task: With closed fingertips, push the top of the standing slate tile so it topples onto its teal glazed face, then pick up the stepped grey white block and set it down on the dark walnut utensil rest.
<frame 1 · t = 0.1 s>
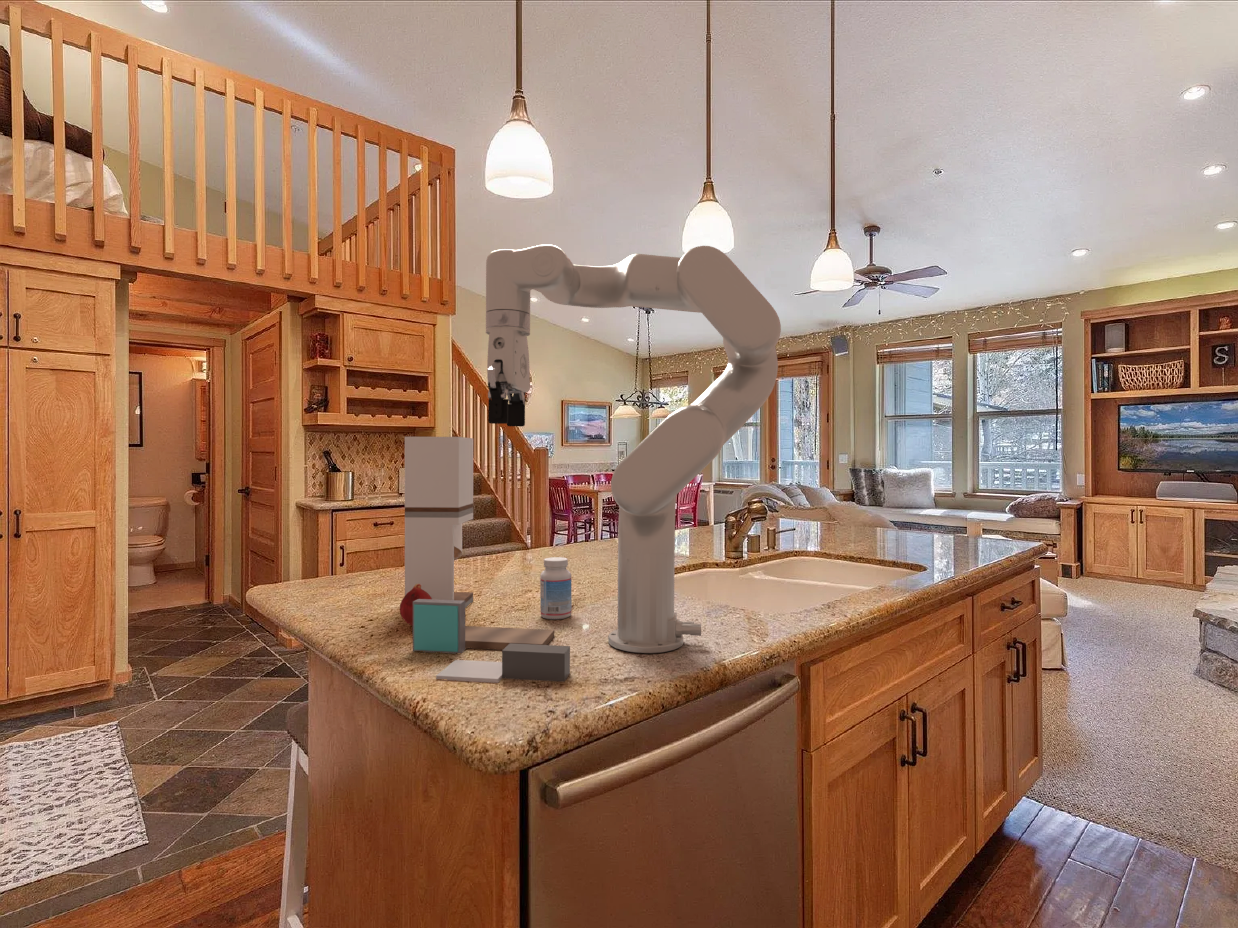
hand: (507, 424, 109), 37 cm above the counter, tool pointing down, fingers open, 9 cm apart
rest: (496, 641, 107), on the counter
tile: (439, 650, 102), on the counter
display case: (440, 608, 130), on the counter
pill bottle: (555, 617, 124), on the counter
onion: (416, 628, 115), on the counter
stepped grey white block: (536, 676, 90), on the counter
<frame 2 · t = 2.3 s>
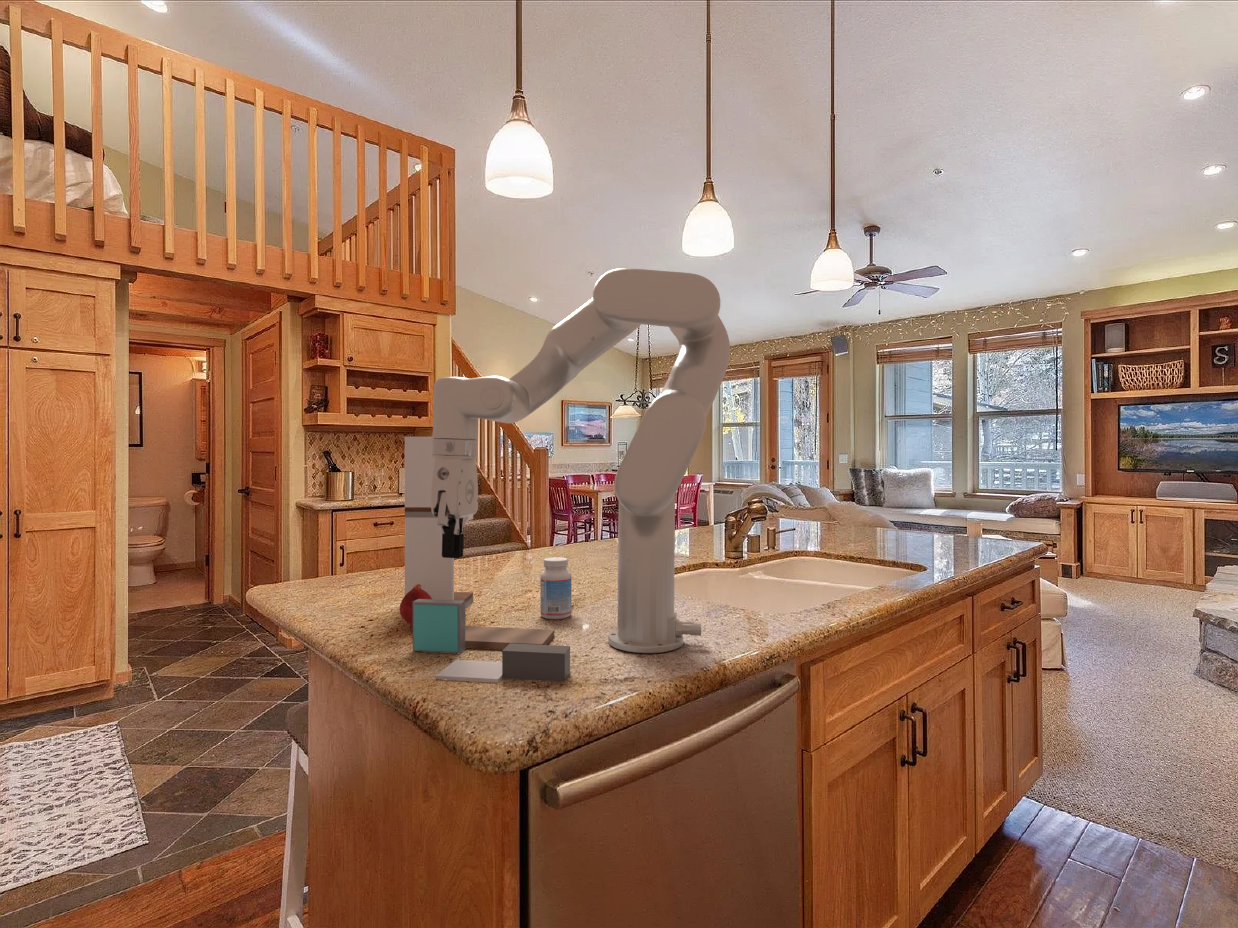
hand: (452, 556, 109), 14 cm above the counter, tool pointing down, fingers closed
nothing on the counter moved.
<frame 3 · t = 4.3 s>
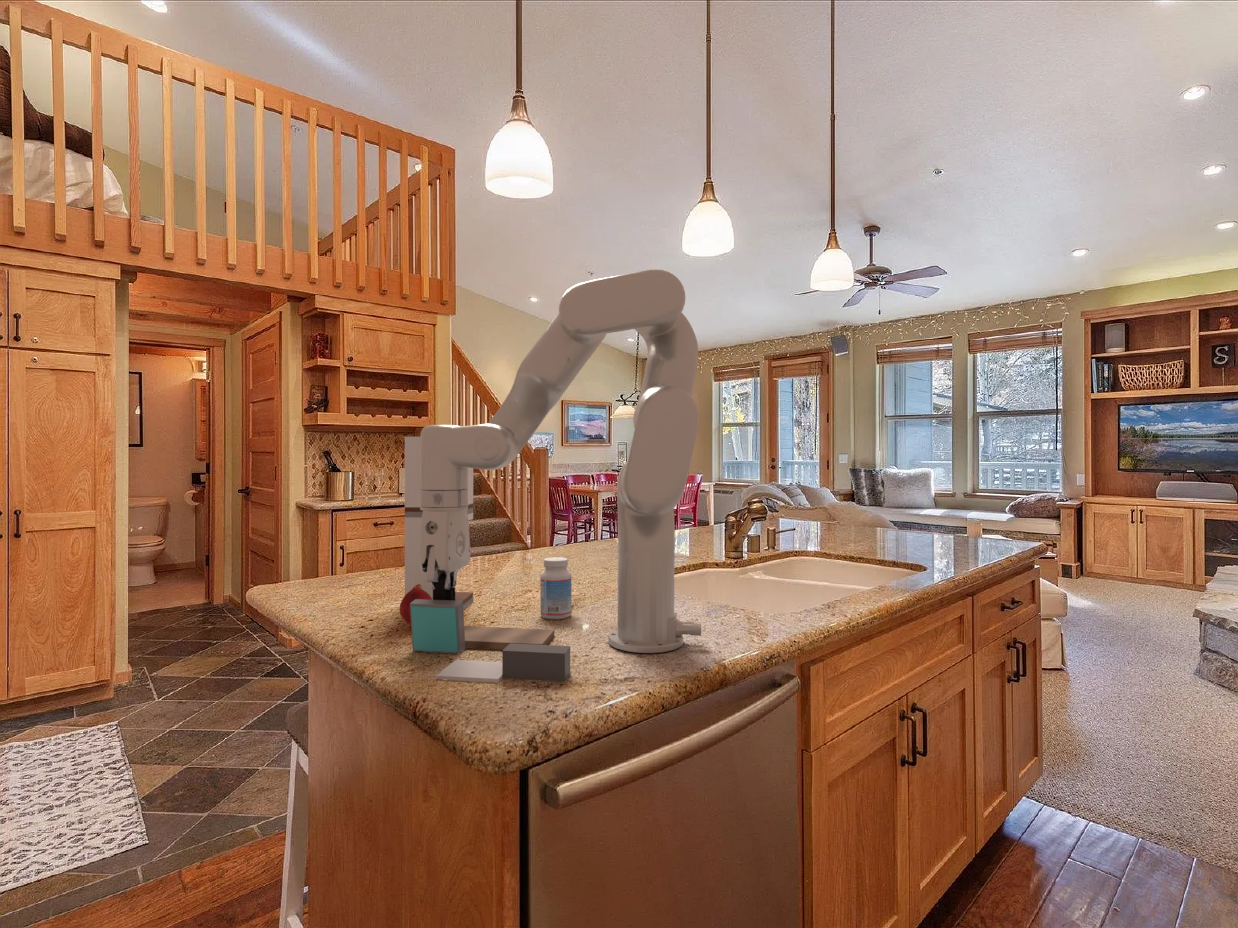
hand: (444, 612, 104), 6 cm above the counter, tool pointing down, fingers closed
tile: (439, 649, 102), on the counter, tilted 7°
everything else where it was.
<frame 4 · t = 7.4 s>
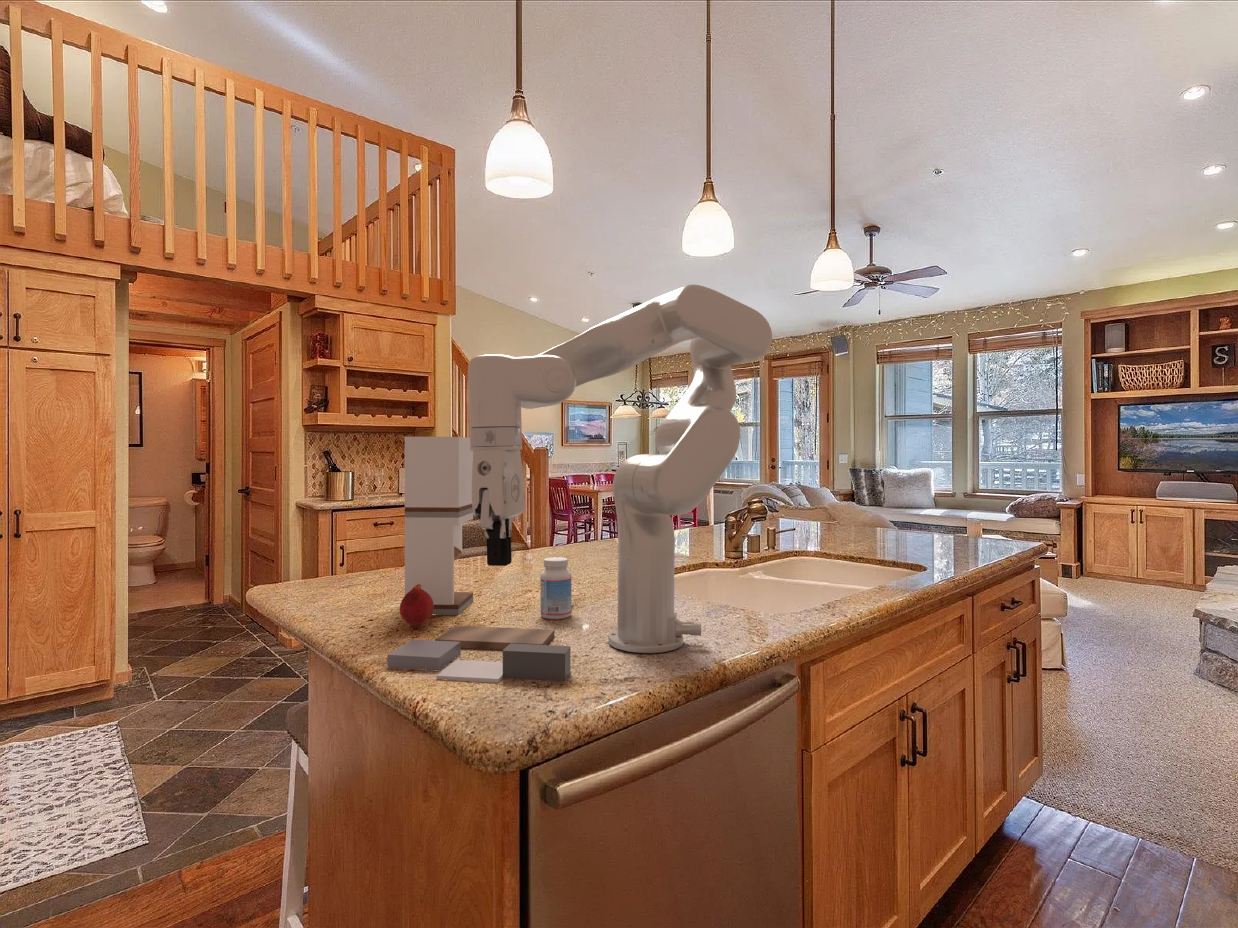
hand: (499, 564, 93), 15 cm above the counter, tool pointing down, fingers closed
tile: (436, 646, 101), point 1 cm above the counter, tilted 90°
everything else where it was.
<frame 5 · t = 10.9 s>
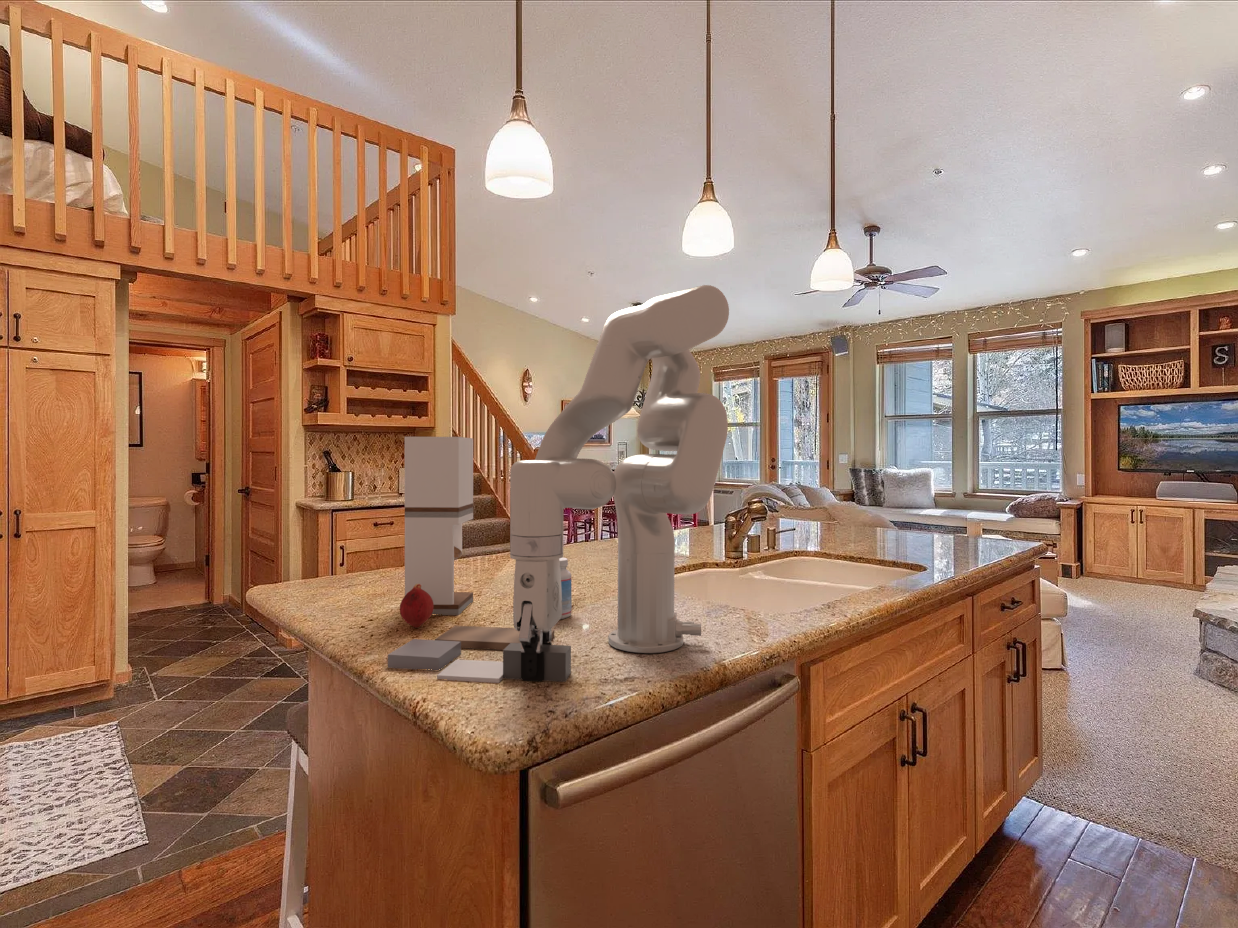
hand: (536, 673, 90), 0 cm above the counter, tool pointing down, fingers closed on stepped grey white block, 3 cm apart
stepped grey white block: (537, 675, 90), on the counter, touching gripper
everything else where it was.
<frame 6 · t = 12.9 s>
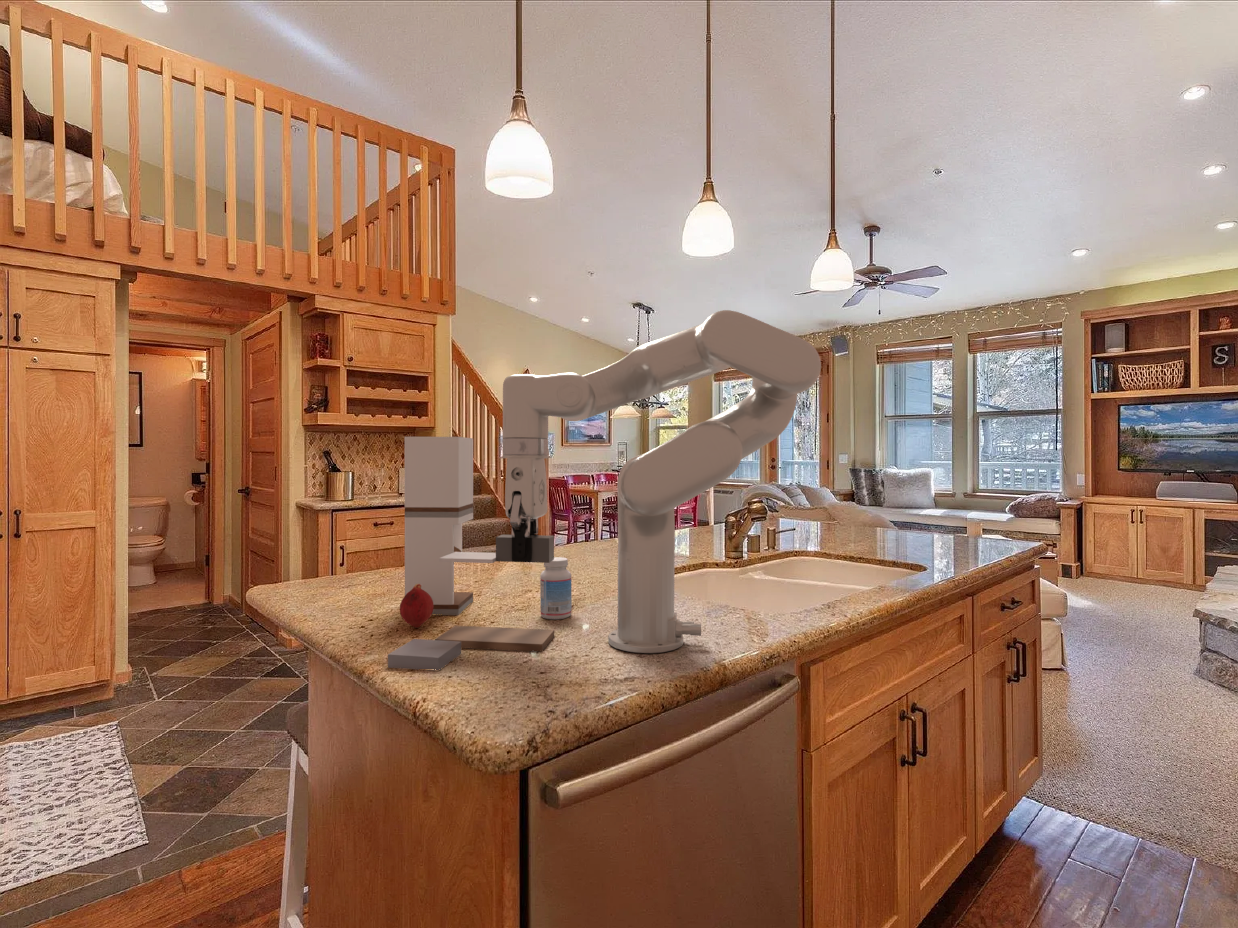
hand: (525, 558, 106), 14 cm above the counter, tool pointing down, fingers closed on stepped grey white block, 3 cm apart
stepped grey white block: (525, 560, 106), point 14 cm above the counter, touching gripper
everything else where it was.
when the fingers open (2 cm above the counter, at t = 15.3 s): stepped grey white block stays where it is, resting on rest.
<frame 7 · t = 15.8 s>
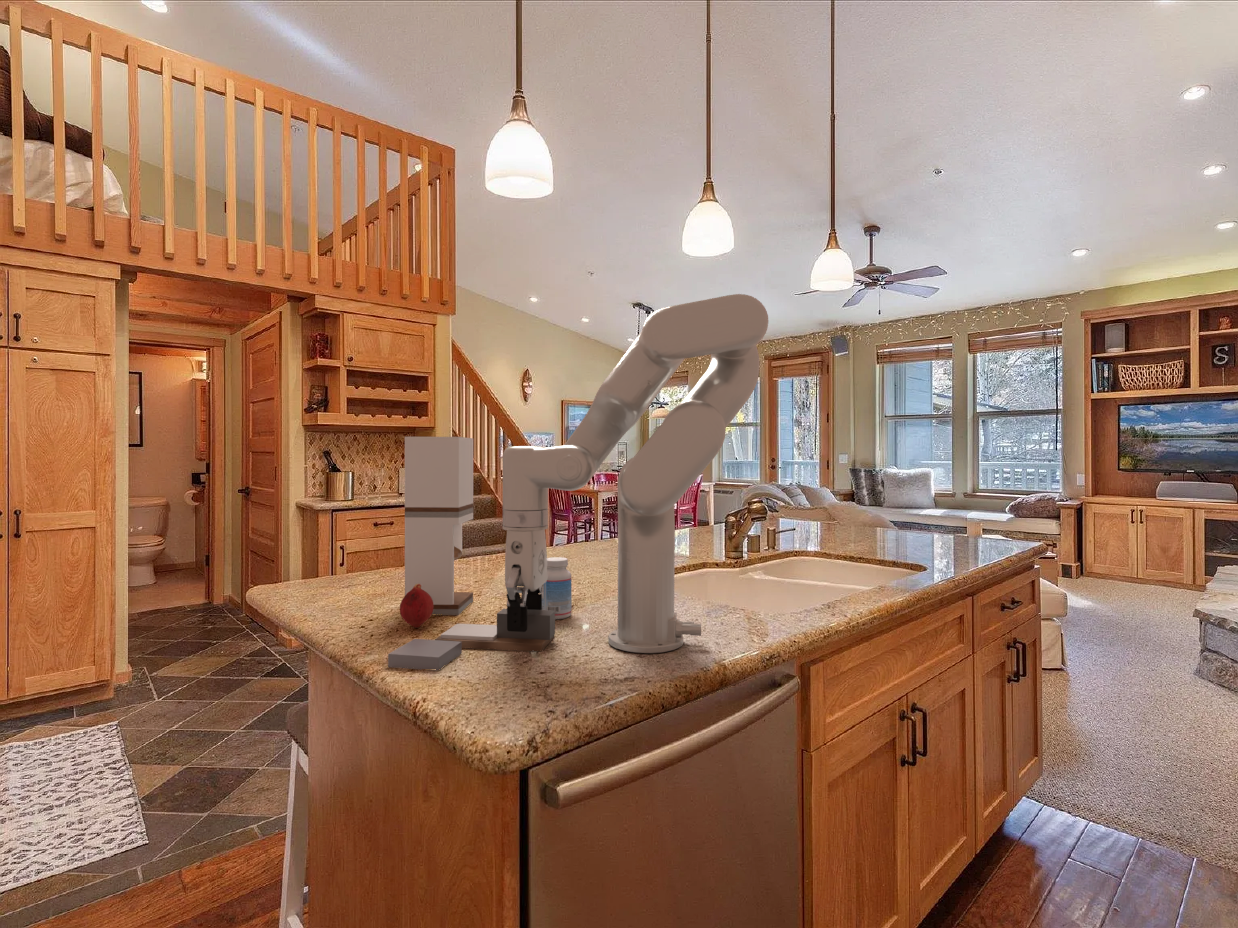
hand: (525, 623, 106), 3 cm above the counter, tool pointing down, fingers open, 8 cm apart
stepped grey white block: (526, 635, 106), point 1 cm above the counter, touching rest
everything else where it was.
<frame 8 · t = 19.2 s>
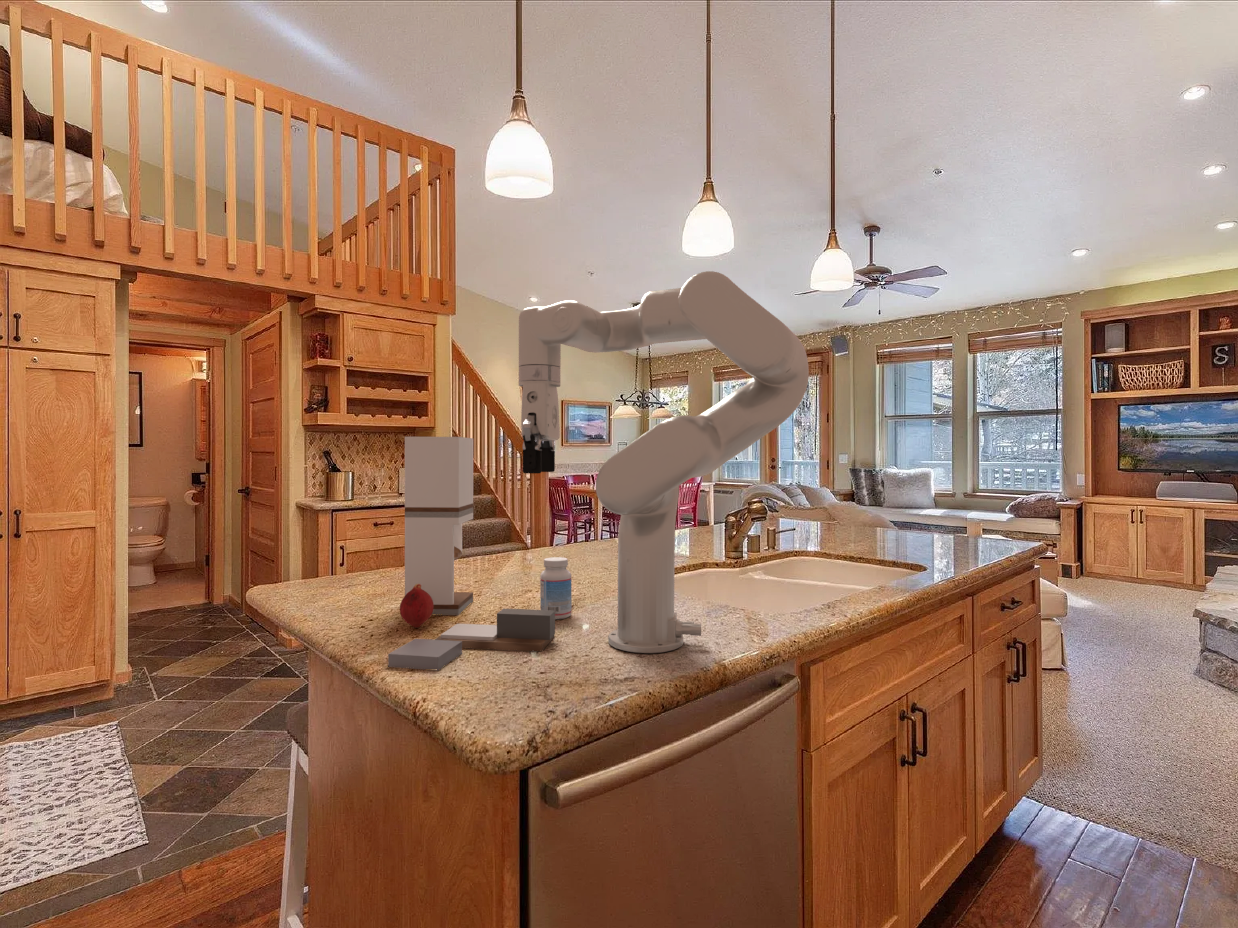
hand: (539, 472, 115), 28 cm above the counter, tool pointing down, fingers open, 9 cm apart
nothing on the counter moved.
at the end: tile tilted 90°; stepped grey white block inside the target area (0.7 cm from its centre), point 1.2 cm above the counter; the gripper is holding nothing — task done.
